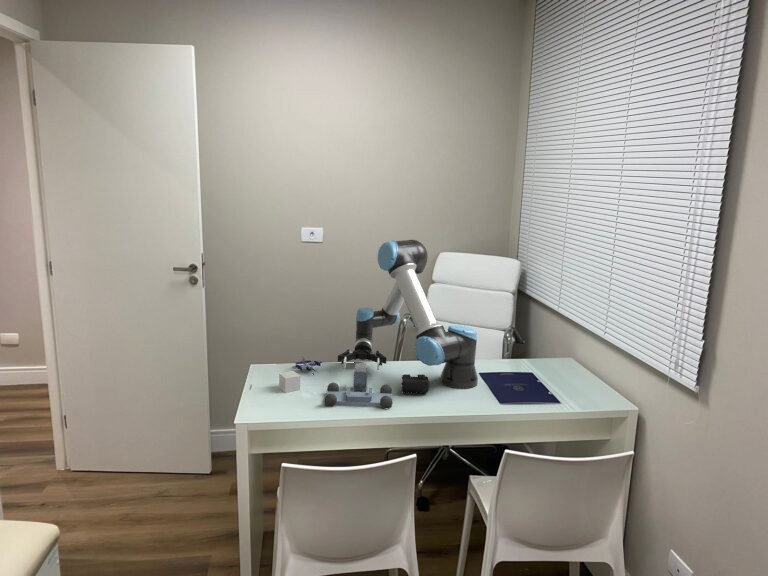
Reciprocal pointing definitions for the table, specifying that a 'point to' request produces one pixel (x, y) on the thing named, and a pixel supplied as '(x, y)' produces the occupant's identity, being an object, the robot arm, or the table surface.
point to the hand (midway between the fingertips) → (361, 366)
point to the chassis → (358, 397)
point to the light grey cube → (289, 381)
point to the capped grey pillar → (360, 378)
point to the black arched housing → (415, 384)
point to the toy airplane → (307, 365)
